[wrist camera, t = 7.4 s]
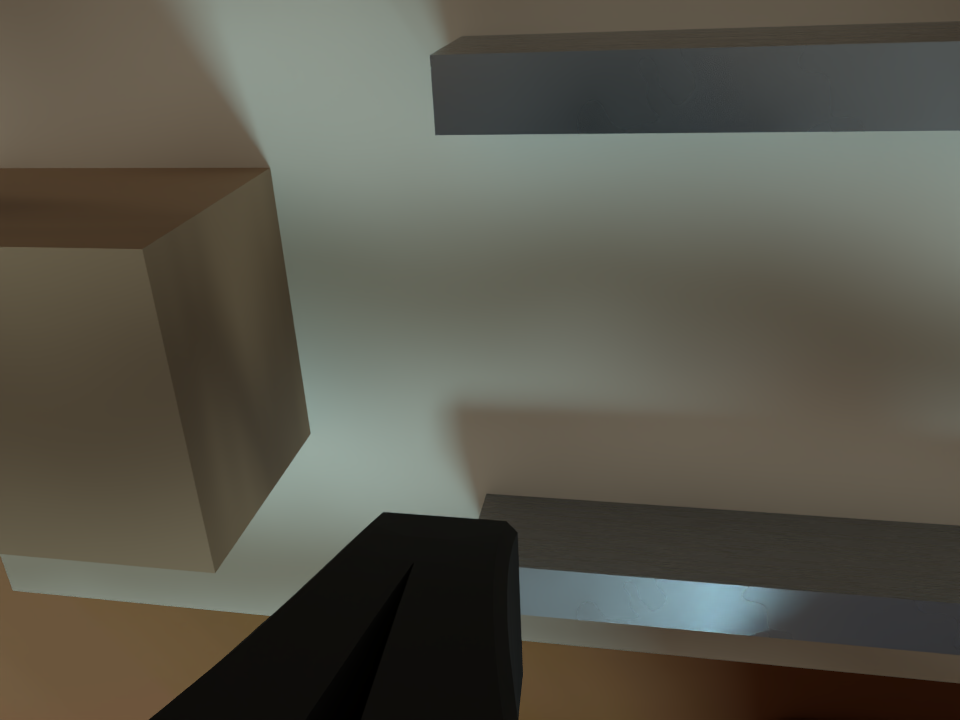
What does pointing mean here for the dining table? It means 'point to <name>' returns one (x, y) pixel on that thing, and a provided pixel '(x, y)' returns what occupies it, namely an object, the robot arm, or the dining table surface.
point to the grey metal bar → (700, 531)
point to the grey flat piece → (534, 286)
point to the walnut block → (142, 363)
